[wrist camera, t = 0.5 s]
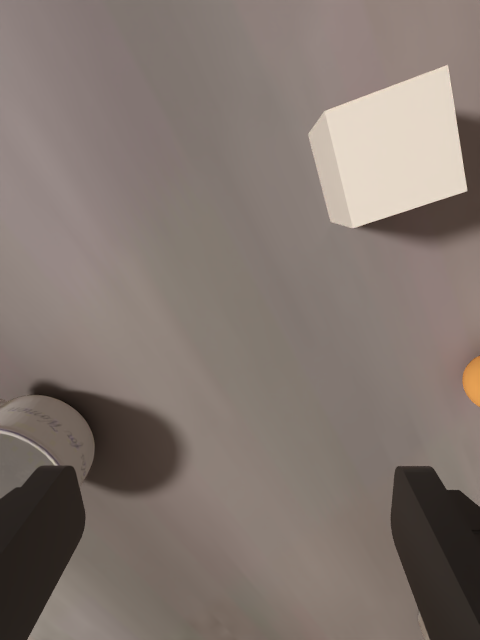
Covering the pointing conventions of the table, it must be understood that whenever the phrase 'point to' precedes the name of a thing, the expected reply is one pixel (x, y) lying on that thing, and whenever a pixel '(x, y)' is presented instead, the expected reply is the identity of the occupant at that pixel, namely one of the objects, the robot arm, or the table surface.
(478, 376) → the ball
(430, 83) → the cream colored box
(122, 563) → the table surface
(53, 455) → the teacup
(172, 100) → the table surface
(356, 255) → the table surface
